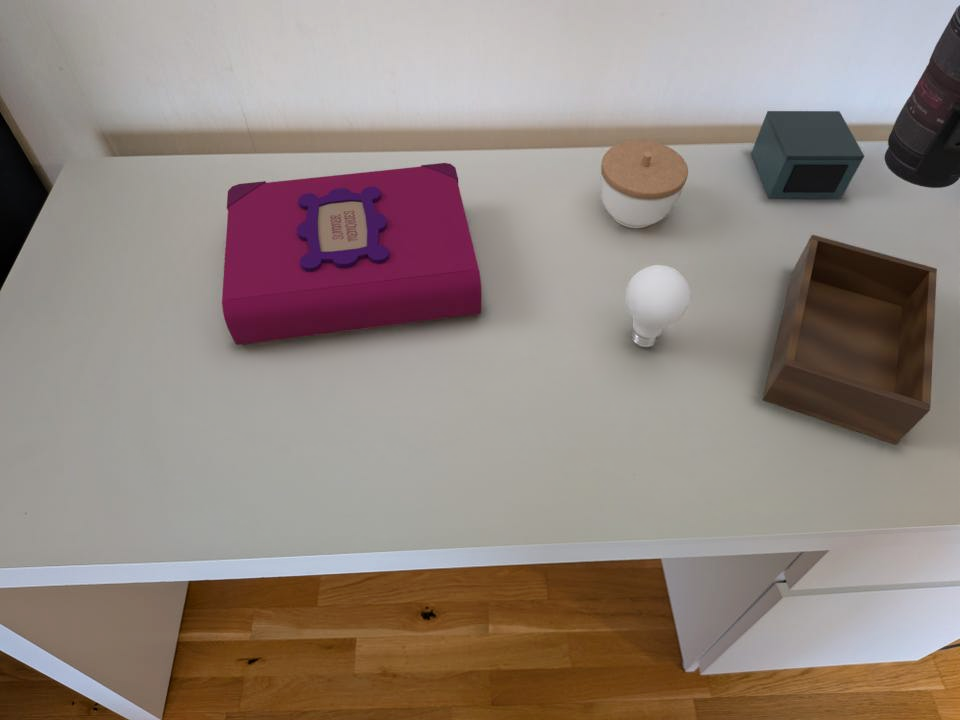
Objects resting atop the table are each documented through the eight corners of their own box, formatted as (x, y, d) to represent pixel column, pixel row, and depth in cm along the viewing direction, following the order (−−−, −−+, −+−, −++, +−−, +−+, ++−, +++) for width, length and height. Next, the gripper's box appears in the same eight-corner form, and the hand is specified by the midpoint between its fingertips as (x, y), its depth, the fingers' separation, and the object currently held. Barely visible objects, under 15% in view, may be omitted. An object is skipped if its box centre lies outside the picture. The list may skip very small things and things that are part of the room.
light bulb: (602, 341, 78) (618, 274, 69) (637, 310, 81) (657, 242, 72) (648, 375, 75) (671, 309, 66) (683, 342, 78) (710, 274, 69)
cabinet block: (819, 153, 99) (839, 110, 93) (841, 199, 93) (865, 156, 87) (750, 153, 99) (767, 110, 93) (769, 199, 93) (787, 156, 87)
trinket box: (577, 205, 92) (586, 146, 84) (637, 177, 95) (651, 118, 88) (629, 252, 87) (644, 193, 79) (690, 221, 90) (710, 162, 83)
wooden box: (791, 273, 84) (812, 234, 79) (907, 307, 81) (937, 268, 76) (762, 400, 73) (784, 363, 68) (896, 444, 70) (930, 410, 65)
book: (482, 321, 80) (483, 276, 73) (237, 353, 76) (217, 309, 70) (455, 204, 92) (453, 157, 86) (243, 227, 89) (226, 180, 83)
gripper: (1041, -199, 51) (894, 80, 70) (1065, -97, 40) (882, 205, 58) (1156, -187, 50) (974, 96, 68) (1215, -76, 38) (978, 228, 56)
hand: (932, 146), depth 63 cm, fingers closed on camera lens, 8 cm apart
